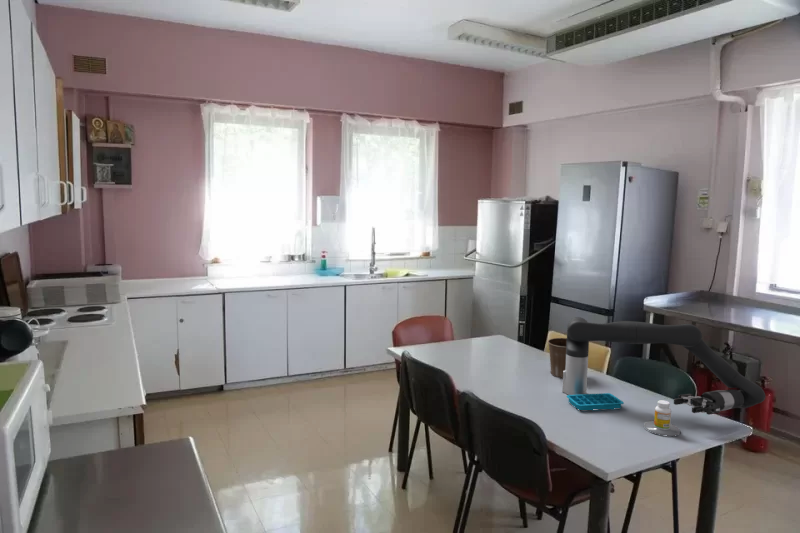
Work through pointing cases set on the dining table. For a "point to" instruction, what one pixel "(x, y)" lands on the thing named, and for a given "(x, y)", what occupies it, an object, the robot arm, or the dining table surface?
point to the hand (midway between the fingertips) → (683, 405)
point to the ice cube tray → (595, 401)
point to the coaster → (671, 432)
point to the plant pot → (557, 356)
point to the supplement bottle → (662, 415)
